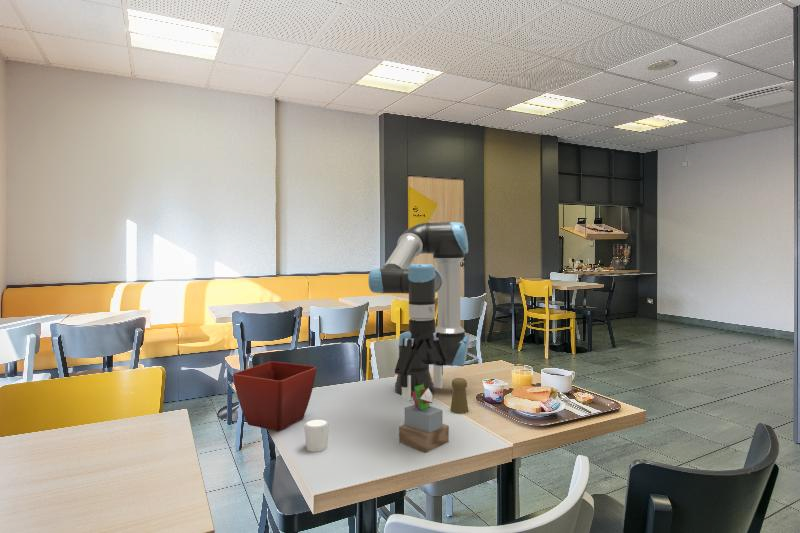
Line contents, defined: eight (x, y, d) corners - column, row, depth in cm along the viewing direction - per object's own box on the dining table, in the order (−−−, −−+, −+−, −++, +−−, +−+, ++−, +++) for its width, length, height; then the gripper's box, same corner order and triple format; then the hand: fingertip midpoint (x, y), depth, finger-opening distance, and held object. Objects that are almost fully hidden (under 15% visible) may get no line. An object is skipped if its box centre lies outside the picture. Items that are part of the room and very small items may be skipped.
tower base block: (422, 433, 144) (422, 417, 144) (448, 443, 137) (448, 425, 137) (399, 443, 137) (399, 426, 136) (425, 454, 130) (425, 435, 130)
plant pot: (318, 416, 158) (318, 365, 158) (281, 437, 141) (280, 380, 140) (272, 408, 166) (271, 360, 166) (231, 427, 149) (230, 374, 148)
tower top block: (418, 419, 142) (418, 403, 141) (442, 427, 136) (442, 409, 135) (404, 425, 137) (404, 408, 137) (429, 433, 131) (429, 415, 131)
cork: (471, 412, 161) (471, 379, 161) (455, 414, 159) (455, 381, 158) (462, 406, 167) (462, 375, 166) (447, 409, 165) (447, 377, 164)
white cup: (302, 444, 136) (302, 420, 135) (326, 441, 138) (326, 417, 138) (306, 454, 129) (306, 428, 129) (331, 450, 132) (331, 425, 131)
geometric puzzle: (400, 399, 138) (412, 380, 134) (415, 394, 143) (428, 375, 139) (415, 419, 134) (428, 400, 131) (430, 412, 139) (444, 394, 136)
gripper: (401, 325, 124) (402, 406, 125) (459, 314, 142) (459, 385, 143) (381, 322, 129) (382, 400, 130) (439, 312, 147) (440, 380, 148)
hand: (422, 392), depth 137 cm, fingers open, 13 cm apart
